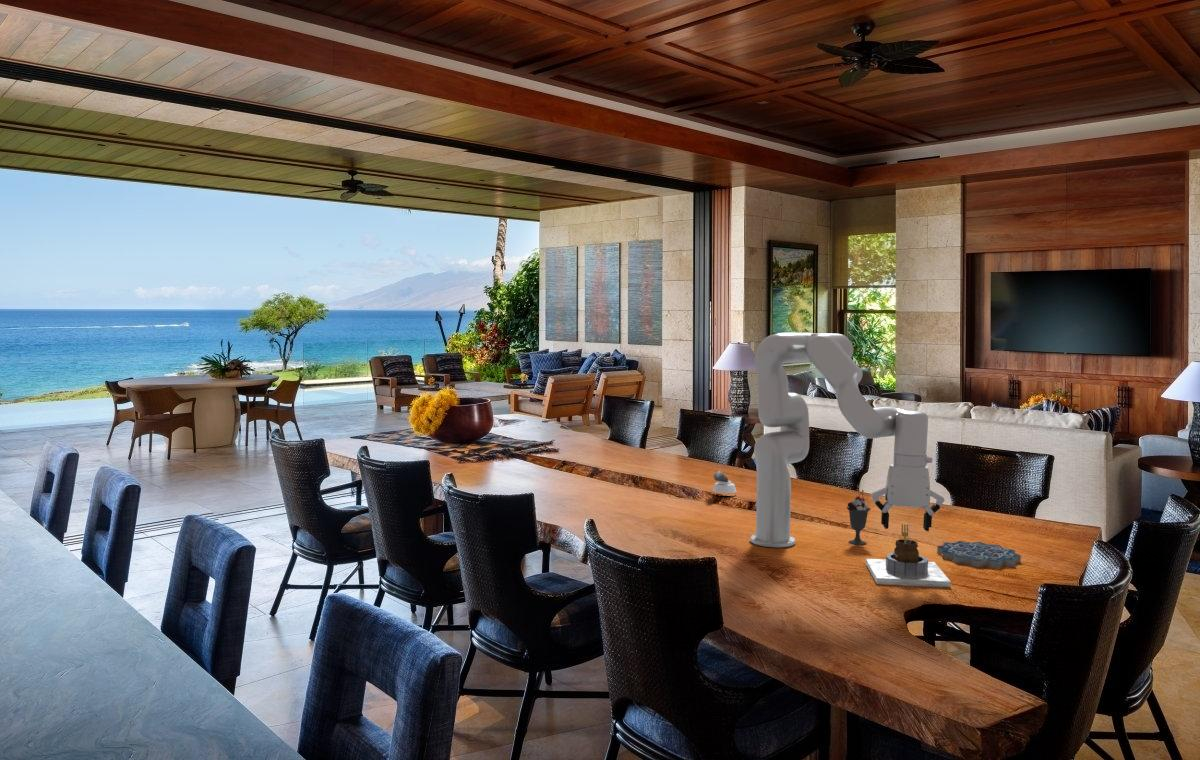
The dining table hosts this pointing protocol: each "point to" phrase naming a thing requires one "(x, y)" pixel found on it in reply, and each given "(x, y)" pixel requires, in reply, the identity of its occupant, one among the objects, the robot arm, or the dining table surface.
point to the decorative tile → (979, 554)
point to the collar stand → (907, 572)
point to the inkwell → (723, 484)
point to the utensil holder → (906, 548)
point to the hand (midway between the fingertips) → (905, 528)
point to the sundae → (858, 517)
